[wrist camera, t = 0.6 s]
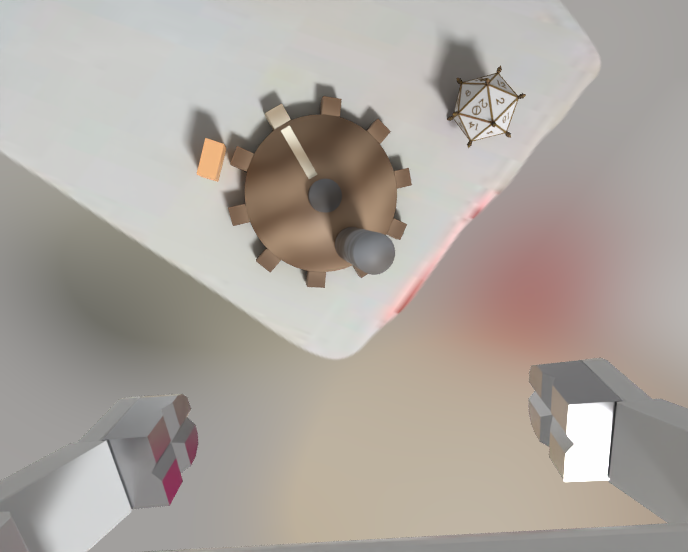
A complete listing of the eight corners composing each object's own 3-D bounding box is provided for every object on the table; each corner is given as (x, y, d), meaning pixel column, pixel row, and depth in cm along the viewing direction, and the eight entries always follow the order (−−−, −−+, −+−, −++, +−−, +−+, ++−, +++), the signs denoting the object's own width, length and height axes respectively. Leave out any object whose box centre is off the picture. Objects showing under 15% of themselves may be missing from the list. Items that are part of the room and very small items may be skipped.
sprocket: (189, 158, 47) (170, 144, 35) (352, 65, 49) (381, 25, 38) (293, 316, 53) (304, 347, 41) (433, 227, 55) (480, 234, 44)
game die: (454, 134, 57) (471, 172, 50) (429, 83, 52) (444, 117, 45) (517, 99, 54) (544, 134, 47) (497, 41, 49) (523, 70, 42)
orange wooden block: (209, 143, 47) (205, 137, 43) (226, 148, 47) (224, 143, 44) (201, 176, 47) (196, 174, 44) (218, 181, 48) (215, 179, 44)
